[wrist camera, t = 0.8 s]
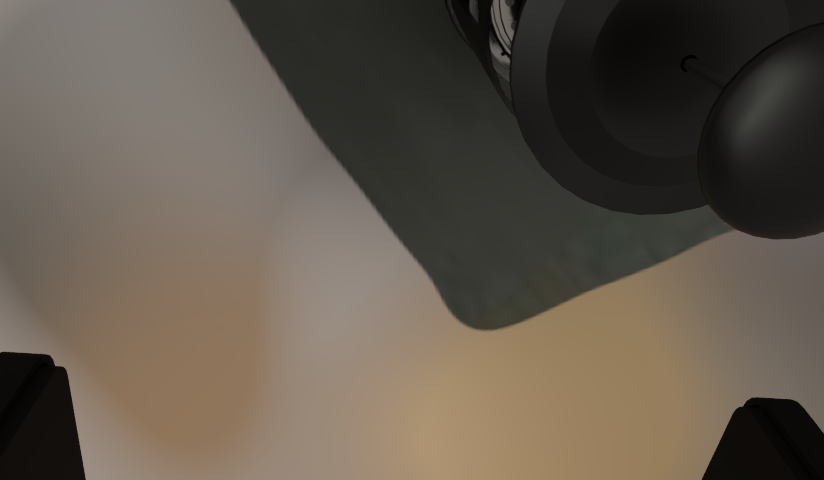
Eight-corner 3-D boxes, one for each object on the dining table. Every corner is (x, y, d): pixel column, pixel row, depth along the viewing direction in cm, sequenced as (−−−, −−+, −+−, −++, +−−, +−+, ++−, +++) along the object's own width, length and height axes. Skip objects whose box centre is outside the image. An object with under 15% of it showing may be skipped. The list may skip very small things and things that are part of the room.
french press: (412, -115, 30) (496, -87, 10) (619, -189, 29) (1188, -328, 9) (478, 124, 35) (619, 456, 15) (653, 68, 34) (1048, 345, 14)
